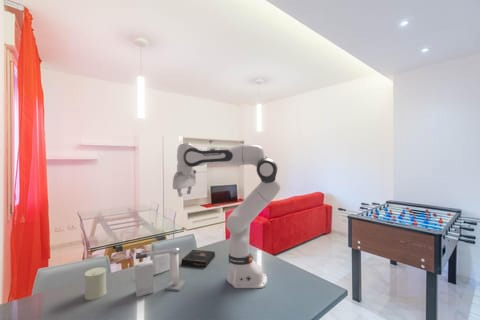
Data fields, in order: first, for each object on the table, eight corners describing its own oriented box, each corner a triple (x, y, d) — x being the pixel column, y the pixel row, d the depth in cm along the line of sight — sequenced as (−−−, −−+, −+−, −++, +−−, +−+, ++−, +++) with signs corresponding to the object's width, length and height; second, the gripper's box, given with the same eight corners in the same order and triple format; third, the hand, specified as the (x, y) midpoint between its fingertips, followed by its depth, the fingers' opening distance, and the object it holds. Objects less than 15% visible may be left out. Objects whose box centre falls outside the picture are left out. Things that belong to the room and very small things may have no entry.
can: (83, 302, 106) (83, 277, 106) (86, 292, 114) (85, 268, 114) (105, 296, 110) (105, 272, 110) (107, 287, 118) (106, 264, 118)
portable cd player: (215, 257, 156) (214, 251, 156) (205, 268, 139) (205, 262, 139) (193, 254, 159) (193, 249, 159) (181, 265, 143) (181, 259, 143)
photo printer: (167, 267, 140) (167, 247, 140) (170, 269, 137) (170, 249, 137) (151, 273, 133) (151, 252, 133) (154, 276, 130) (154, 254, 130)
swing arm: (178, 249, 122) (178, 246, 122) (179, 253, 117) (179, 249, 117) (136, 256, 114) (136, 252, 114) (135, 260, 110) (135, 256, 110)
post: (185, 282, 122) (185, 250, 122) (179, 291, 114) (179, 257, 114) (172, 281, 124) (172, 249, 124) (164, 289, 116) (164, 255, 116)
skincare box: (152, 287, 118) (152, 259, 118) (153, 293, 113) (153, 263, 113) (135, 291, 114) (135, 262, 114) (135, 297, 109) (135, 267, 109)
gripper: (180, 172, 119) (180, 198, 119) (197, 170, 139) (197, 193, 139) (169, 172, 121) (169, 197, 121) (188, 170, 141) (188, 192, 141)
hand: (184, 195), depth 130 cm, fingers open, 8 cm apart
